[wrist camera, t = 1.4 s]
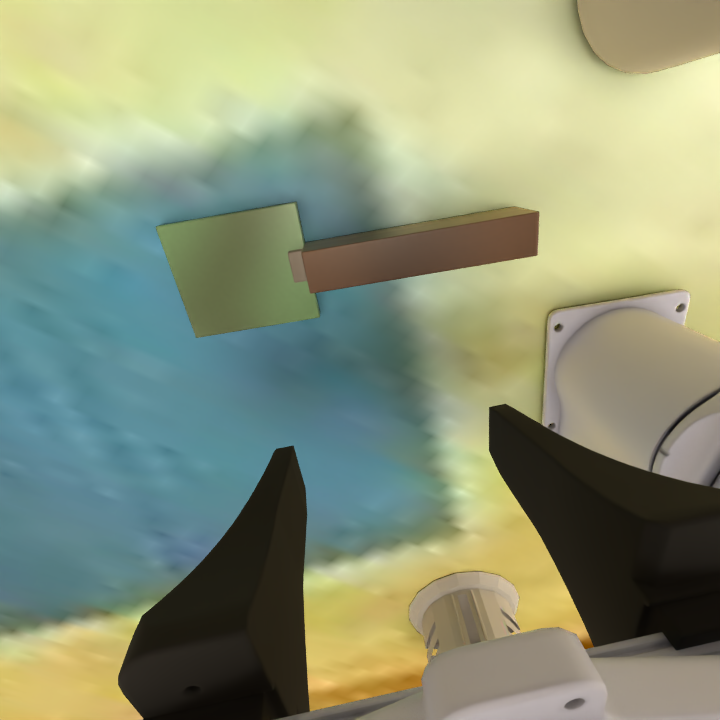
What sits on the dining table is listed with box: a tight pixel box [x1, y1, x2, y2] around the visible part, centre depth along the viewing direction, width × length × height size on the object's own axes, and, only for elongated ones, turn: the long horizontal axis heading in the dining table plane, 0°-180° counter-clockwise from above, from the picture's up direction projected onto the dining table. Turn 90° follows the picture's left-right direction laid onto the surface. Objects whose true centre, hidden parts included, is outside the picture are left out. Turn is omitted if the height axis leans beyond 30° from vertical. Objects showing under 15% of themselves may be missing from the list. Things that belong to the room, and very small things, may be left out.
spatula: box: [156, 202, 539, 338], centre depth 20 cm, size 18×6×3 cm, turn 99°
